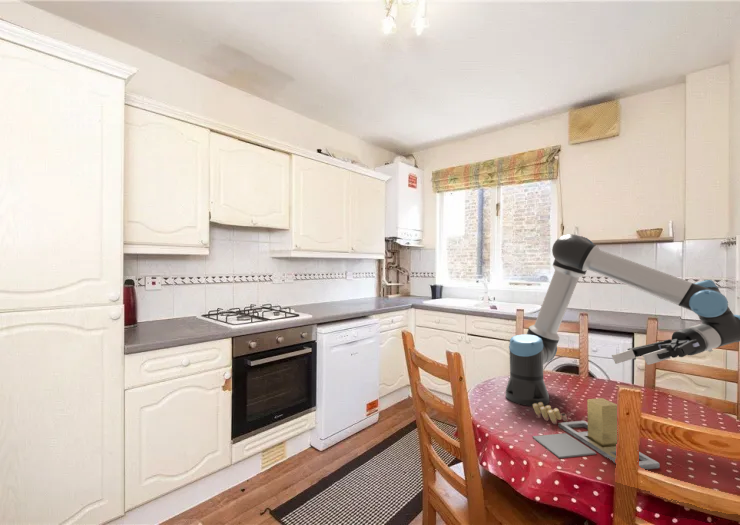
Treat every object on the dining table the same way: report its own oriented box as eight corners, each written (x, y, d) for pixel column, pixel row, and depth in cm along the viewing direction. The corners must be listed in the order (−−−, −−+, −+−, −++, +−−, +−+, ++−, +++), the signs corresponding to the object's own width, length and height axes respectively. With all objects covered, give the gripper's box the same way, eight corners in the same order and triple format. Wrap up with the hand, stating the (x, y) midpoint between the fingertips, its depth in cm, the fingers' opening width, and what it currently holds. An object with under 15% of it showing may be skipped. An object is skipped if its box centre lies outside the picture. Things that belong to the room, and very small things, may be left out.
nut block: (588, 441, 97) (587, 399, 97) (603, 439, 98) (602, 398, 98) (602, 450, 92) (601, 406, 92) (618, 448, 93) (617, 404, 93)
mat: (532, 437, 99) (532, 436, 99) (566, 434, 101) (566, 433, 101) (559, 458, 88) (559, 456, 88) (596, 454, 90) (596, 452, 90)
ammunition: (550, 411, 106) (568, 407, 110) (531, 403, 113) (548, 399, 116) (551, 427, 106) (568, 422, 109) (531, 417, 113) (548, 413, 116)
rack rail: (558, 426, 106) (558, 422, 106) (583, 424, 107) (583, 420, 108) (628, 471, 82) (628, 466, 82) (659, 467, 84) (659, 463, 84)
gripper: (743, 351, 89) (668, 374, 89) (667, 352, 113) (608, 370, 113) (727, 324, 91) (654, 346, 91) (656, 330, 116) (598, 348, 115)
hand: (628, 359), depth 102 cm, fingers open, 13 cm apart
